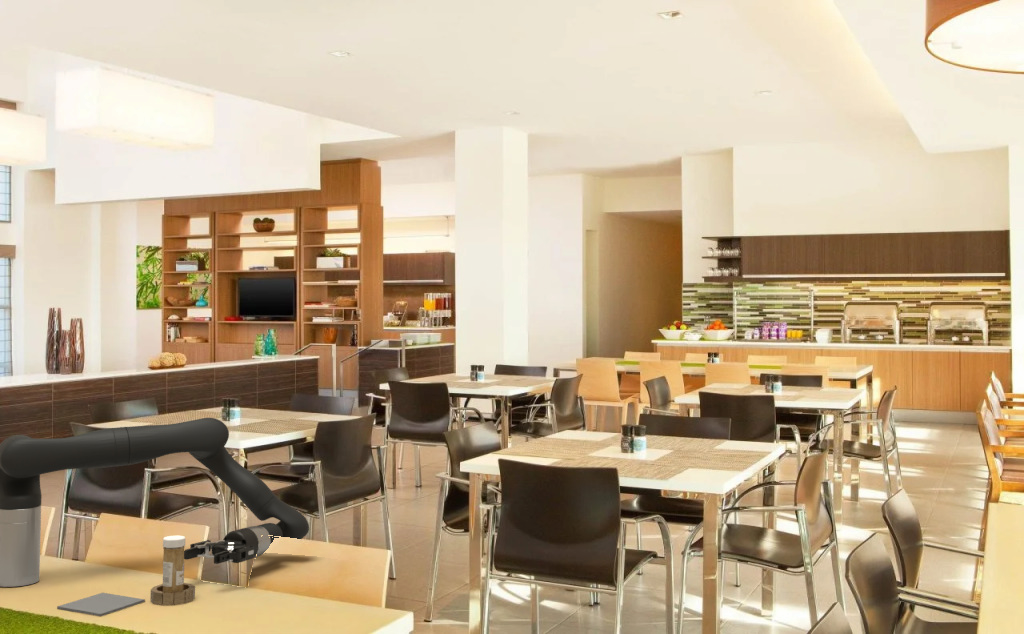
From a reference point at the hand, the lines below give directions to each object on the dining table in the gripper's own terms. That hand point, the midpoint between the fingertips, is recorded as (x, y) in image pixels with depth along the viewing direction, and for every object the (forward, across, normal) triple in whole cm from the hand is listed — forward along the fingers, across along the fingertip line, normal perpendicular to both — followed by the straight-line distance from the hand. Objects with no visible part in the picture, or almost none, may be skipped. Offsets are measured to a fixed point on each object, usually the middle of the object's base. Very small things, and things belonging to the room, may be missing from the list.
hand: (200, 557), depth 216 cm
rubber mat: (+18, -10, +8) cm, 22 cm away
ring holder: (+8, 0, +7) cm, 11 cm away
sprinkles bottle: (+8, 0, +8) cm, 11 cm away
